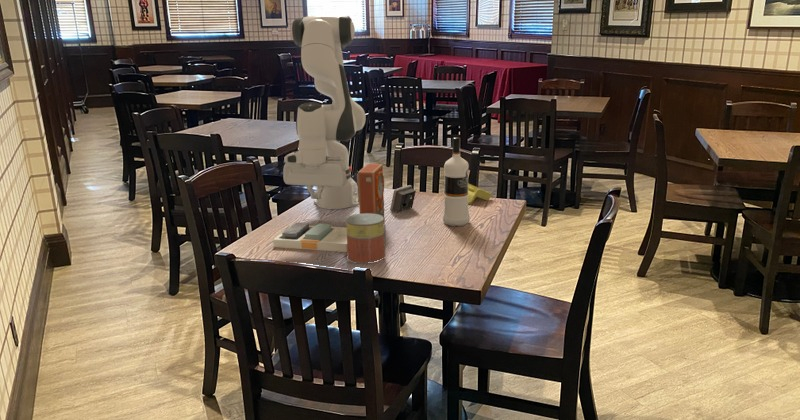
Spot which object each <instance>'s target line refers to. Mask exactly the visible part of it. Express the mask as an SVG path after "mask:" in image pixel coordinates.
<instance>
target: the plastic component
mask: <svg viewBox="0 0 800 420" xmlns="http://www.w3.org/2000/svg"><path fill="white" fill-rule="evenodd" d="M468 195H469V197H468V205H471V204H472V203H474V200H475V199H476V198H479V199H482V200H484V201H487V202H489V201H490V199H491V197H492V195H493V194H492V193H491V192H489V191H486V190H484V189H481V188H480V187H477V186H475V185H473V184H471V183H469V182H468Z"/></svg>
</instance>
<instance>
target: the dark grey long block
mask: <svg viewBox="0 0 800 420" xmlns="http://www.w3.org/2000/svg"><path fill="white" fill-rule="evenodd" d="M309 225H310V223H309V222H295V223H294V224H292V225H290V226H289V227H290V228H289V227H288V228H287V229H285V230H286V231H285V230H284V231H282V232H283V233H282V232H281V233H282V237H283V239H296V240H297V239H299V238H300V237H301V236H302V235H304V234H305V233H306V232H307V231H309Z"/></svg>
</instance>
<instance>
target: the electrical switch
mask: <svg viewBox="0 0 800 420" xmlns="http://www.w3.org/2000/svg"><path fill="white" fill-rule="evenodd" d="M416 191H417V190H416V189H414V188H413V185H411V184H409V185H405V186H401V187H399V188H394V190H393V193H392V199H391V202H390V203H391V204H390V208H389V210H390V212H391V213H392V212H396V213H397V214H400V213H403V212H405V211H409V210H412V209H411V208H413V206H414V205H413V204H414V201H415V196H416V193H417V192H416ZM402 211H403V212H402ZM399 212H400V213H399Z"/></svg>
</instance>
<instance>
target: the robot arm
mask: <svg viewBox="0 0 800 420" xmlns="http://www.w3.org/2000/svg"><path fill="white" fill-rule="evenodd" d="M355 30H356V29H355V25H354V23H353V21H352V18H351V17H350V15H346V14H338V15H337V14H328V13H327V14H326V13H325V14H316V15H310V16H302V15H301V16H298V17H296V18H295V19H294V20H293V21H292V24H291V27H290V33H291V34H290V35H291V37H292V40H293V42H294V44H295V45H296V46H297V47H301V49H300V50H301V52H300V53H301V54H300V57H301V58H300V60H301V66H302V69H303V70H304V71H305V72H306V74H308V75H309V76H311V77H312V78H314V82H313V83H314V88H315V89H316V91H317V92H318V93H320V94H322V95H324V96H327V97H329V98H330V99H331V101H332V103H331V104H321V103H319V102H313V101H311V102H310V101H309V102H305V103H302V104H300V105H299V106H298V107H297V116H296V120H295V129H296V135H297V136H298V140H299V142H298V150H296V151H292V152H291V153H288V154H286V155H285V157H284V160H283V161H284V162H285V164H284V165H283V171H282V173H283V175H282V176H283V177H282V178H283V182H284V184H286V185H292V186H293V185H295V186H306V189H307V191H308V192H309V194H310V199H311V200H312V199H313V204H314V205H317V206H318V207H319V208H322V209H330V210H338V209H346V208H350V207H358V206H359V203H358V190H357V181H355V180H354V179H353V178H352V173H351V172H352V170H353V169H352V168H353V167H352V166H349V165H350V164H349V151H348V150H349V149H348V148H347V147H346V146H345V144H342V143H341V142H348V141H350V140H351V139H352V138H353V137H354V136H356V132H357V131H360V130H362V129H363V128H364V127H365V124H366V121H367V120H366V119H367V118H366V116H367V115H366V113H365V110H364V108H363V107H362V106H361V105H360V104H358V103H357V102H356V101H354V100H353V98H352V97H351V95H350V89H349V83H348V80H347V73H346V70H345V67H344V57H343V50H344V49H346V47H348V46H349V45H351V44H352V42H353V40H354V37H355V32H356V31H355ZM342 49H343V50H342ZM338 141H339V142H338ZM314 186H315V187H316V191H315V190H314V189H313V188H314Z"/></svg>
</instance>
